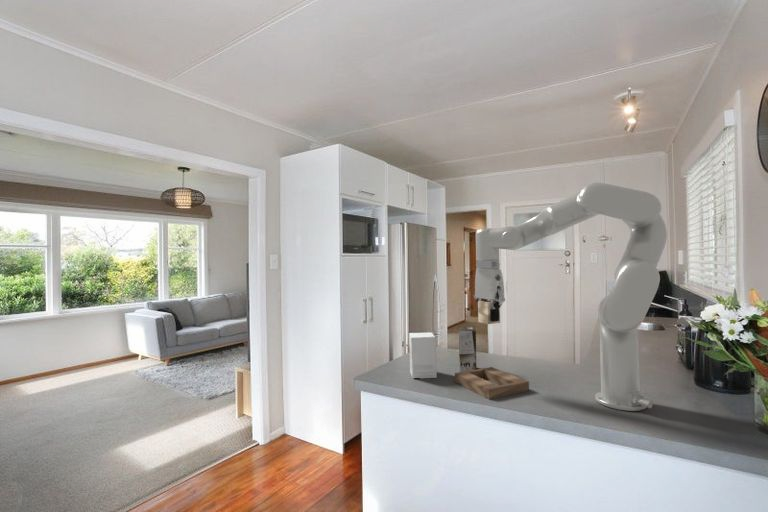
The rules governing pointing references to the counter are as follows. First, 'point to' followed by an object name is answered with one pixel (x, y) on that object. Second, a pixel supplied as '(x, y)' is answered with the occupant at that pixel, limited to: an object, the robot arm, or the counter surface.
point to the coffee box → (467, 349)
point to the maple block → (485, 312)
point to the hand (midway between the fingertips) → (489, 319)
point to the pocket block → (487, 389)
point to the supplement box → (422, 355)
